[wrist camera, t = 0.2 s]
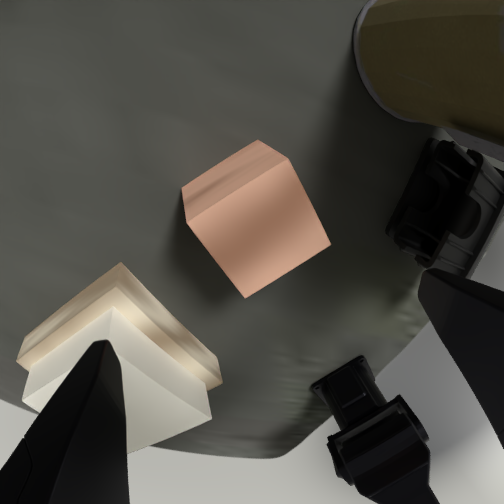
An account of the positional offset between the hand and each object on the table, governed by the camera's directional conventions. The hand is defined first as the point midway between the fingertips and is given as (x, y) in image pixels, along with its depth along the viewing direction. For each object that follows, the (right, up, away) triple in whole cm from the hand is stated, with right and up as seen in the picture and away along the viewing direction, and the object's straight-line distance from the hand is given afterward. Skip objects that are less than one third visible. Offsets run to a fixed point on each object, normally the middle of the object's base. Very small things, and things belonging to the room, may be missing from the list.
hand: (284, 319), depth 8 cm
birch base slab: (-12, -6, +16) cm, 21 cm away
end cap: (+15, +6, +17) cm, 23 cm away
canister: (+11, +16, +10) cm, 22 cm away
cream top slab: (-11, -8, +13) cm, 19 cm away
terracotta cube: (-2, +5, +12) cm, 14 cm away
